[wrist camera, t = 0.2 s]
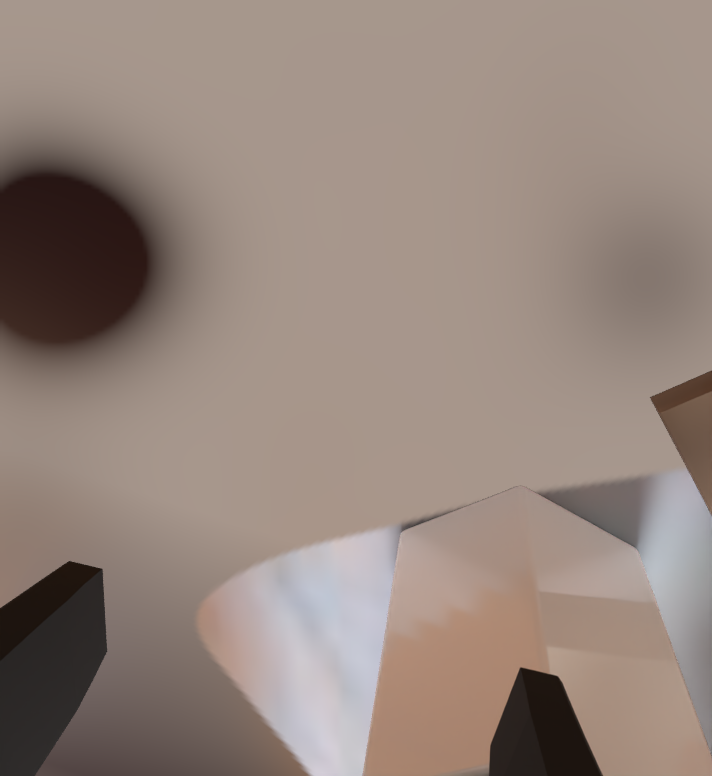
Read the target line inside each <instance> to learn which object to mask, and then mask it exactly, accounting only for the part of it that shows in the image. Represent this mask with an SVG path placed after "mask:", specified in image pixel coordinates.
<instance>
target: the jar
mask: <svg viewBox="0 0 712 776" xmlns="http://www.w3.org/2000/svg"><path fill="white" fill-rule="evenodd" d="M520 667H522V668H526V669H531V670H535V671H539V672H543V673H548V674H552V675H556V676H558V677H559V678H560V680H561V681H562V683H563V685H564V688H565V690H566V693H567V695H568V697H569V700H570V702H571V705H572V707H573V709H574V712H575V714H576V716H577V719H578V721H579V723H580V726H581V728H582V730H583V733H584V735H585V737H586V739H587V742H588V744H589V746H590V748H591V750H592V753H593V755H594V757H595V759H596V761H597V764H598V766H599V768H600V770H601V772H602V774H603V776H712V755H711V753H710V750H709V747H708V744H707V741H706V739H705V736H704V733H703V730H702V727H701V725H700V722H699V719H698V716H697V713H696V711H695V708H694V705H693V702H692V700H691V697H690V694H689V691H688V688H687V686H686V683H685V680H684V677H683V674H682V672H681V669H680V666H679V663H678V660H677V658H676V655H675V652H674V649H673V647H672V644H671V641H670V638H669V635H668V633H667V630H666V627H665V624H664V621H663V619H662V616H661V613H660V610H659V607H658V605H657V602H656V599H655V596H654V593H653V591H652V588H651V585H650V582H649V580H648V577H647V574H646V571H645V568H644V566H643V563H642V560H641V557H640V554H639V552H638V550H637V549H636V548H635V547H633V546H631V545H629V544H627V543H626V542H624V541H622V540H620V539H618V538H617V537H615V536H613V535H611V534H609V533H608V532H606V531H604V530H602V529H600V528H599V527H597V526H595V525H593V524H591V523H590V522H588V521H586V520H584V519H582V518H581V517H579V516H577V515H575V514H573V513H572V512H570V511H568V510H566V509H564V508H562V507H561V506H559V505H557V504H555V503H553V502H552V501H550V500H548V499H546V498H544V497H543V496H541V495H539V494H537V493H535V492H534V491H532V490H530V489H528V488H526V487H524V486H516V487H513V488H511V489H508V490H506V491H503V492H501V493H499V494H496V495H493V496H491V497H488V498H486V499H483V500H481V501H478V502H475V503H473V504H470V505H468V506H465V507H463V508H460V509H457V510H455V511H452V512H450V513H447V514H445V515H442V516H440V517H437V518H434V519H432V520H429V521H427V522H424V523H421V524H419V525H416V526H414V527H411V528H408V529H406V530H404V531H403V532H402V533H401V534H400V538H399V545H398V551H397V557H396V564H395V570H394V577H393V583H392V590H391V596H390V602H389V609H388V615H387V622H386V628H385V635H384V641H383V647H382V654H381V660H380V667H379V673H378V680H377V686H376V692H375V699H374V705H373V712H372V718H371V724H370V731H369V737H368V743H367V750H366V756H365V763H364V769H363V775H362V776H489V762H490V745H491V742H492V739H493V737H494V734H495V732H496V729H497V726H498V724H499V721H500V719H501V716H502V713H503V711H504V708H505V706H506V703H507V700H508V698H509V695H510V692H511V690H512V687H513V685H514V682H515V679H516V677H517V674H518V672H519V669H520Z"/></svg>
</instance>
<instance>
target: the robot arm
mask: <svg viewBox="0 0 712 776" xmlns="http://www.w3.org/2000/svg"><path fill="white" fill-rule="evenodd" d="M106 652H107V643H106V625H105V607H104V590H103V571H102V569H100V568H96V567H92V566H88V565H84V564H79V563H75V562H71V561H69V562H67V563H66V564H64V565H62V566H61V567H59V568H58V569H57V570H55V571H54V572H52V573H51V574H49V575H48V576H46V577H45V578H44V579H42V580H41V581H39V582H38V583H36V584H35V585H33V586H32V587H30V588H29V589H28V590H26V591H25V592H23V593H22V594H20V595H19V596H17V597H16V598H14V599H13V600H12V601H10V602H9V603H7V604H6V605H4V606H3V607H1V608H0V776H35V774H36V773H37V771H38V770H39V768H40V767H41V765H42V764H43V762H44V761H45V759H46V757H47V756H48V755H49V753H50V751H51V750H52V748H53V747H54V745H55V744H56V742H57V741H58V739H59V737H60V736H61V734H62V733H63V731H64V730H65V728H66V727H67V725H68V724H69V722H70V721H71V719H72V717H73V716H74V714H75V713H76V711H77V709H78V708H79V706H80V704H81V702H82V700H83V698H84V696H85V694H86V692H87V690H88V688H89V686H90V684H91V682H92V681H93V678H94V677H95V675H96V673H97V671H98V668H99V666H100V664H101V662H102V660H103V658H104V656H105V654H106ZM489 776H603V774H602V772H601V770H600V768H599V766H598V764H597V761H596V759H595V757H594V755H593V753H592V750H591V748H590V746H589V744H588V742H587V739H586V737H585V735H584V733H583V730H582V728H581V726H580V723H579V721H578V719H577V716H576V714H575V712H574V709H573V707H572V705H571V702H570V700H569V697H568V695H567V693H566V690H565V688H564V685H563V683H562V681H561V680H560V678H559V677H558V676H556V675H552V674H548V673H543V672H539V671H535V670H531V669H526V668H522V667H520V669H519V672H518V674H517V677H516V679H515V682H514V685H513V687H512V690H511V692H510V695H509V698H508V700H507V703H506V706H505V708H504V711H503V713H502V716H501V719H500V721H499V724H498V726H497V729H496V732H495V734H494V737H493V739H492V742H491V745H490V762H489Z"/></svg>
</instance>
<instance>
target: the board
mask: <svg viewBox="0 0 712 776" xmlns="http://www.w3.org/2000/svg"><path fill="white" fill-rule="evenodd" d="M650 398H651V400H652V402H653V404H654V406H655V408H656V410H657V412H658V414H659V415H660V417H661V419H662V421H663V423H664V425H665V427H666V429H667V431H668V433H669V435H670V437H671V438H672V440H673V442H674V444H675V446H676V448H677V450H678V452H679V454H680V456H681V458H682V459H683V461H684V463H685V465H686V467H687V469H688V471H689V473H690V475H691V477H692V479H693V481H694V482H695V484H696V486H697V488H698V490H699V492H700V494H701V496H702V498H703V500H704V502H705V503H706V505H707V507H708V509H709V511H710V513H711V515H712V371H710V372H708V373H705V374H703V375H701V376H698V377H696V378H694V379H691V380H689V381H687V382H685V383H682V384H680V385H678V386H675V387H673V388H671V389H668V390H666V391H664V392H662V393H659V394H657V395H655V396H652V397H650Z"/></svg>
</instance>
